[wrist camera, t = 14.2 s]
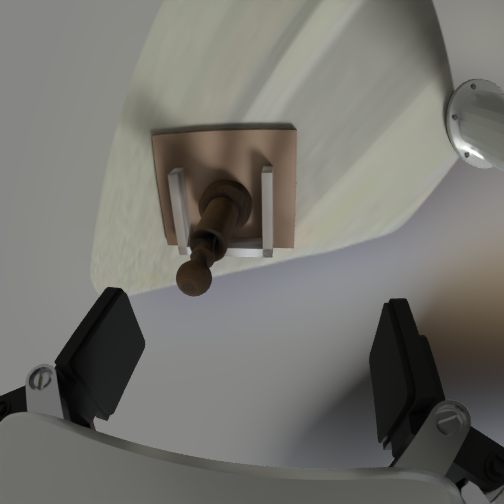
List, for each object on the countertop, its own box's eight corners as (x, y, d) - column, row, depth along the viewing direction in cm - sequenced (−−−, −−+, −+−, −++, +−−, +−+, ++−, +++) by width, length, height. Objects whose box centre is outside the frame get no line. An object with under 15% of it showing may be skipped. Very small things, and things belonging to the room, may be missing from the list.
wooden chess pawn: (206, 225, 42) (162, 316, 27) (198, 180, 39) (142, 254, 24) (254, 224, 42) (234, 318, 26) (250, 177, 38) (223, 252, 23)
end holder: (296, 129, 35) (297, 134, 32) (293, 244, 44) (293, 260, 40) (154, 134, 37) (142, 140, 34) (170, 241, 46) (161, 255, 42)
